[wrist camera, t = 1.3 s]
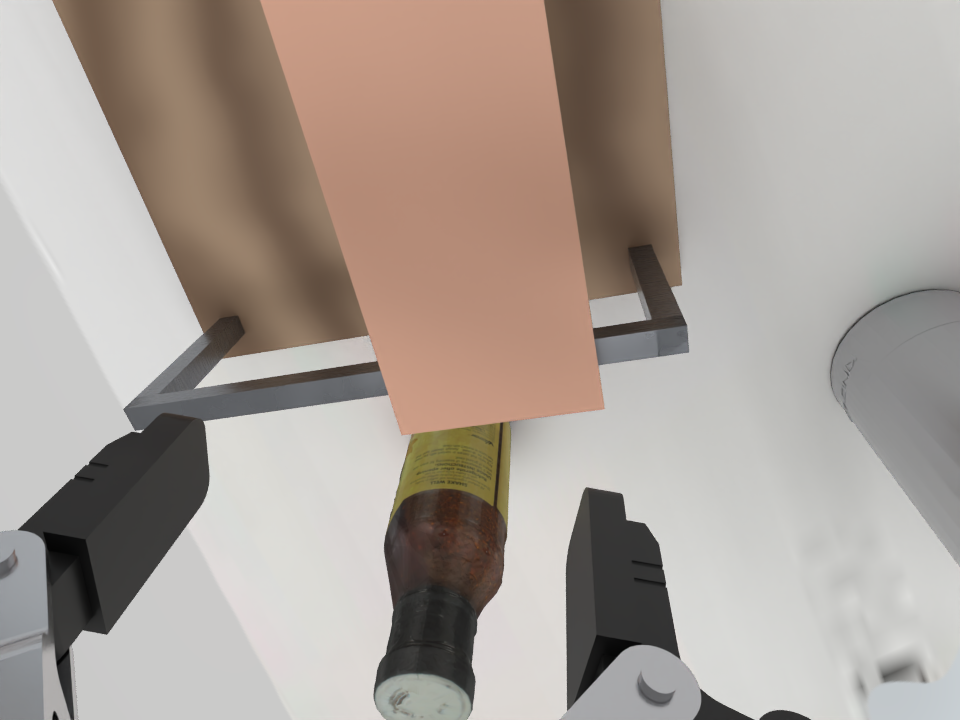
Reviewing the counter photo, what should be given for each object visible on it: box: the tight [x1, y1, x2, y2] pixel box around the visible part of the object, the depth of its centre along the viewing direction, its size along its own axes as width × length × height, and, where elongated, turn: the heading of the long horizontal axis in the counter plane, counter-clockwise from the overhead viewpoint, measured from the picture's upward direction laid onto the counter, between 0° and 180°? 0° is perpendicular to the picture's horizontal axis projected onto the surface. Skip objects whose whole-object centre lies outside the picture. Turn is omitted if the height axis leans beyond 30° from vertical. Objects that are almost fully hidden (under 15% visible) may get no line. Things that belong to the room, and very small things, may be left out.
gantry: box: [123, 244, 689, 431], centre depth 27 cm, size 25×23×10 cm
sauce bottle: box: [374, 422, 511, 720], centre depth 34 cm, size 6×6×20 cm
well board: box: [52, 0, 682, 359], centre depth 32 cm, size 28×26×2 cm
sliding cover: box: [260, 0, 604, 435], centre depth 21 cm, size 8×24×2 cm, turn 12°
